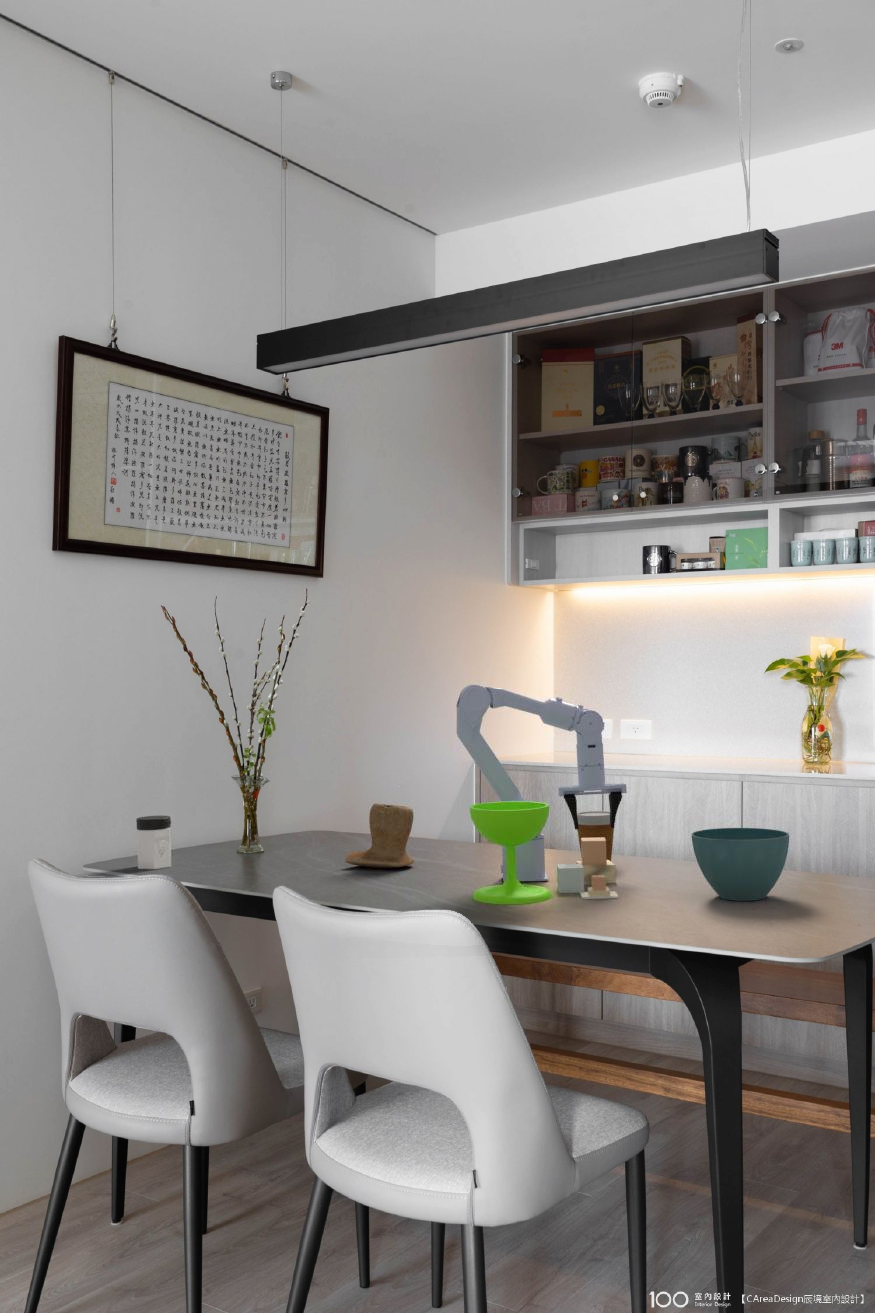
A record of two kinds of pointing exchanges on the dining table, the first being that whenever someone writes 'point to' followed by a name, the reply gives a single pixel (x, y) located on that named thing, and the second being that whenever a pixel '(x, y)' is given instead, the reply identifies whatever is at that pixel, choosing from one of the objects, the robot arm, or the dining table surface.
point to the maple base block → (599, 872)
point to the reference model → (598, 889)
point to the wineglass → (510, 846)
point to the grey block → (570, 878)
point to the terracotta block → (593, 851)
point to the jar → (154, 842)
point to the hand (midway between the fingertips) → (594, 828)
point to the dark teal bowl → (741, 860)
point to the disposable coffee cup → (596, 828)
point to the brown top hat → (386, 838)
